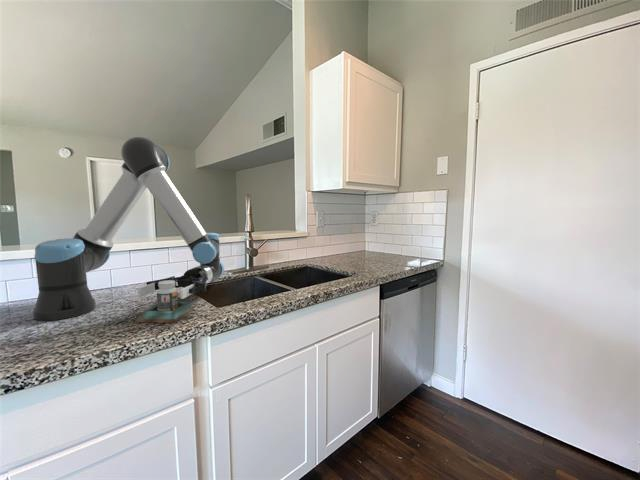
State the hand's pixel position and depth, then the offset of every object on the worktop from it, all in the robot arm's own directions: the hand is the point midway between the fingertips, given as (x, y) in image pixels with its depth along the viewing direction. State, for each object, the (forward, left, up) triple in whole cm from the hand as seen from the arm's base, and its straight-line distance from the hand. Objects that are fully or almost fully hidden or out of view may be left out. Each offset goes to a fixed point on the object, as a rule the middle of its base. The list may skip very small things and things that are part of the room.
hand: (159, 293), depth 86 cm
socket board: (-1, +3, -8) cm, 9 cm away
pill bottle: (0, +3, -7) cm, 8 cm away
